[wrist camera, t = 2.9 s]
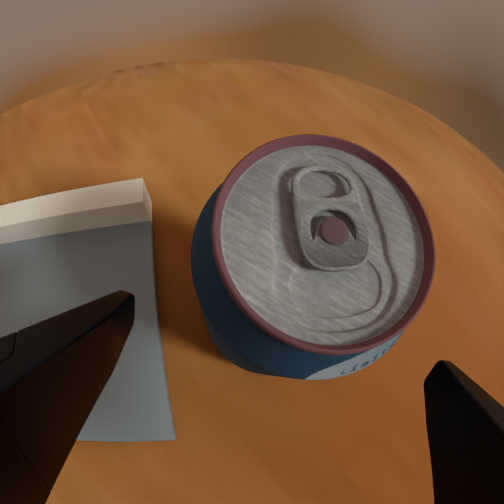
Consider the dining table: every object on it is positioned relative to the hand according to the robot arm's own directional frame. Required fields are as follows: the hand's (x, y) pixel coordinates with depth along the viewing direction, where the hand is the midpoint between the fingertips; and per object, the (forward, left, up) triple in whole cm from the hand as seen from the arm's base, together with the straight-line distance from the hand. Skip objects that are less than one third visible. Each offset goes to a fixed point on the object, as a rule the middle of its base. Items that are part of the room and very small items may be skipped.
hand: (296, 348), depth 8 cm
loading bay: (-7, +10, -10) cm, 16 cm away
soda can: (+2, +1, -10) cm, 10 cm away
